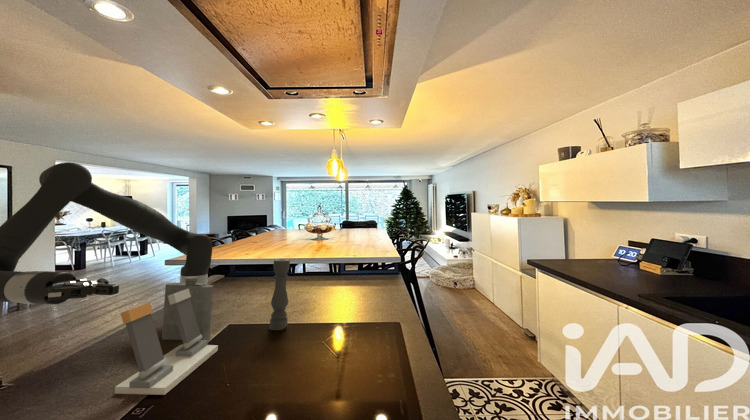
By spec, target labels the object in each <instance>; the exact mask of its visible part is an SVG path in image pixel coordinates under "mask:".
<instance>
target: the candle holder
mask: <svg viewBox="0 0 750 420" xmlns="http://www.w3.org/2000/svg"><path fill="white" fill-rule="evenodd" d="M290 261H291V260H290V259H288V258H276V259H273V272H274V274H275V275H273V280H274V282H275V283H274V284H275V285H274V289H273V295H272V297H271V301H270V304H271V307H272V310H273V311H272V313H271V315H270V319H269V330H270V329H281V328H284V327H286V326H287V327H288V322H289V321H288V320H289V319H288V314H287V312H286V308H287V307H288V304H289V298H288V292H287V291H288V290H287V279H289V275H288V272H289V269H290V266H291V265H290V263H291V262H290Z"/></svg>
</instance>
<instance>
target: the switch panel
mask: <svg viewBox="0 0 750 420" xmlns="http://www.w3.org/2000/svg"><path fill="white" fill-rule="evenodd" d="M218 349H219V345H215V344H209V341H208V340H199V341H197V342H196V343H195V344H193V345H192V346H190V347H189V348H187V349H184V348H183V343H182V344H180V345H178V346H177V347H174V348H172V350H170V351H169V352H167V353H165V354H163V356H164V358H165V359H166V363H165V364H164V365H162V366H161V367H160V368H158V369H157V370H155V371H154V372H152V373H151V374H149V375H148V376H146V377H145V378H143V379H141V378H139V371H138V372H136V373H134V374H133V375H131V376H130V377H128V378H126V379H125V380H124V381H121V382H120V383H119V384H117V385H115V388H114V394H115V395H116V394H117V395H119V394H120V395H122V394H123V395H151V396H152V395H155V396H156V395H160V396H161V395H162V396H165V395H166V394H167V393H169V392H170V391H171V390H172V389H173V388H175V387H176V386H177V385H178V384H179V383H181V382H182V381H183V380H184V379H185V378H187V377H189V375H191V374H192V373H193V372H194V371H195V370H196V369H197V368H199V366H201V365H202V364H204V362H206V361H207V360H208V359H210V358H212V356H213V355H214V354H215V353H217V352H218Z"/></svg>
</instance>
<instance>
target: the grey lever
mask: <svg viewBox="0 0 750 420" xmlns="http://www.w3.org/2000/svg"><path fill="white" fill-rule="evenodd" d="M190 297H191V295H190V292H189V289H186V290H183V291H180V292H177V293H174V294H171V295H169V296H168V299H169V302H170V305H171V304H172V307H173V310H174V313H175V317H176V320H177V324H178V327H179V331H180V334H181V338H182V340H181V341H182V344H183V348H184V349H187V348H189V347H190V346H192V345H193V344H195V343H196V342H197V341H199V340H200V339H202V335H201V334H200V331H199V328H198V324H197V321H196V317H195V314H194V310H193V307H192V304H191V300H190Z"/></svg>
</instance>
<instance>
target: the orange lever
mask: <svg viewBox="0 0 750 420" xmlns="http://www.w3.org/2000/svg"><path fill="white" fill-rule="evenodd" d="M153 313H154V312H153V308H152V305H151V302H148V303H147V302H146V303H144V304H141V305H139V306H136V307H133V308H130V309H127V310H124V311H121V312H120V316H121V317H120V318H121V320H122V324H123V325H124V324H125V326H126V330H127V333H128V336H129V341H130V345H131V347H132V351H133V354H134V358H135V361H136V365H137V368H138V372H139V378H141V379H143V378H145V377H146V376H148V375H149V374H151V373H152V372H154V371H155V370H157V369H158V368H160V367H161V366H162V365H164V364H165V363H166V359H165V358H164V353H163V349H162V346H161V342H160V339H159V336H158V332H157V329H156V325H155V322H154V318H153V316H152V314H153Z"/></svg>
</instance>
